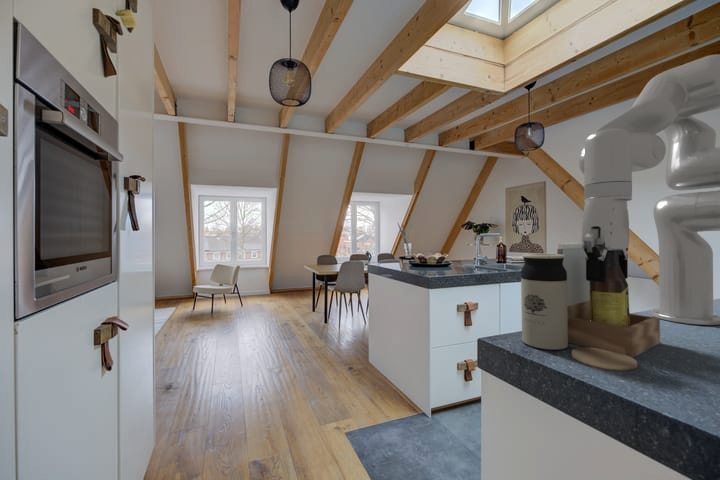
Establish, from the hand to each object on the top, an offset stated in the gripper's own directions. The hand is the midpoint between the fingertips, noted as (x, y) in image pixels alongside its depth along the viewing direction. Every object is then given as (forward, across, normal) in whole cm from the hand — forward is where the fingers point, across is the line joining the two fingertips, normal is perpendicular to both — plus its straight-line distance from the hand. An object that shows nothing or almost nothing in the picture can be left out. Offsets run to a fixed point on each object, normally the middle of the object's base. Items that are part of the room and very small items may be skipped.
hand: (607, 279), depth 63 cm
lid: (+13, -2, -6) cm, 14 cm away
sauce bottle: (+13, -1, 0) cm, 13 cm away
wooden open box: (+13, -2, 0) cm, 13 cm away
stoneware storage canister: (+13, +10, -7) cm, 18 cm away
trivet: (+13, +10, +3) cm, 17 cm away
